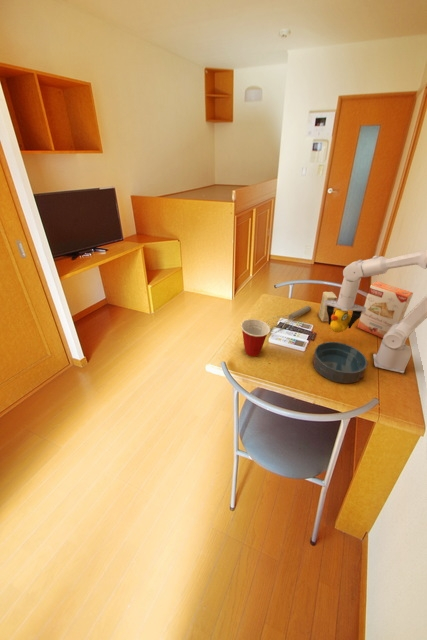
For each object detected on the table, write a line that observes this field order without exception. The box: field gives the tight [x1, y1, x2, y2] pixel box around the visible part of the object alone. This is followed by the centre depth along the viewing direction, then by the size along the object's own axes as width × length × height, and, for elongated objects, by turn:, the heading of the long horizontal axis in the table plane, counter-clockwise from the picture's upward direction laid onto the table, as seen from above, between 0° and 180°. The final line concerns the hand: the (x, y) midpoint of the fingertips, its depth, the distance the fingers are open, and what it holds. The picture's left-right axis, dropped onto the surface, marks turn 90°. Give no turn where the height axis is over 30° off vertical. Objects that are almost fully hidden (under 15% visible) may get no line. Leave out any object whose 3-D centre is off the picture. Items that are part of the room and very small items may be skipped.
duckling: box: [329, 308, 352, 333], centre depth 112 cm, size 11×5×10 cm, turn 121°
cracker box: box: [356, 281, 414, 339], centre depth 118 cm, size 14×6×21 cm, turn 42°
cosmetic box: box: [318, 291, 338, 323], centre depth 130 cm, size 6×4×12 cm
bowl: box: [312, 341, 368, 384], centre depth 103 cm, size 17×17×5 cm
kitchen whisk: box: [265, 305, 312, 335], centre depth 129 cm, size 6×34×6 cm, turn 133°
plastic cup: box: [240, 318, 271, 357], centre depth 109 cm, size 11×11×12 cm
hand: (339, 325), depth 113 cm, fingers closed on duckling, 7 cm apart
